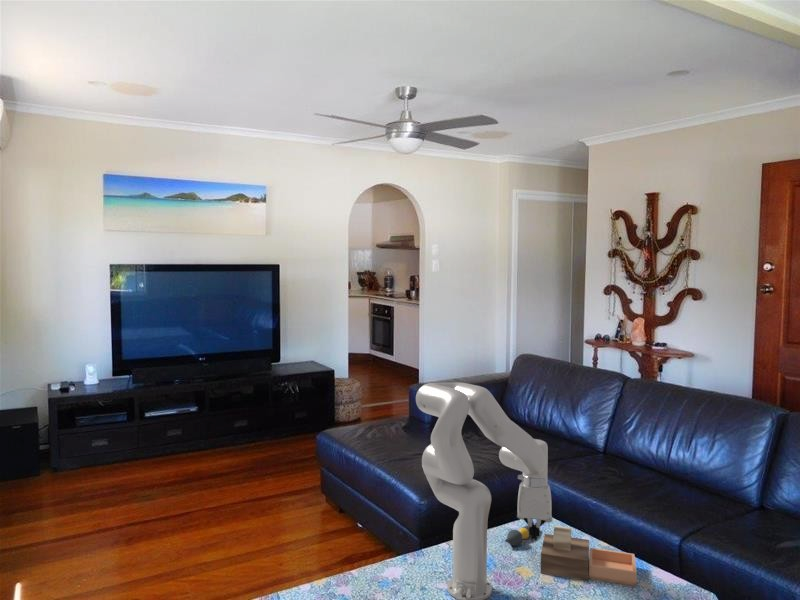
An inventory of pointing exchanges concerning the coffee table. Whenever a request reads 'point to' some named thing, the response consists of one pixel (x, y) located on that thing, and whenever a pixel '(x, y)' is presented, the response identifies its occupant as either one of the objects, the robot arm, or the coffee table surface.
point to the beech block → (562, 538)
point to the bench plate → (565, 559)
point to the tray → (612, 567)
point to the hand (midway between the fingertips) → (534, 538)
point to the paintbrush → (518, 536)
